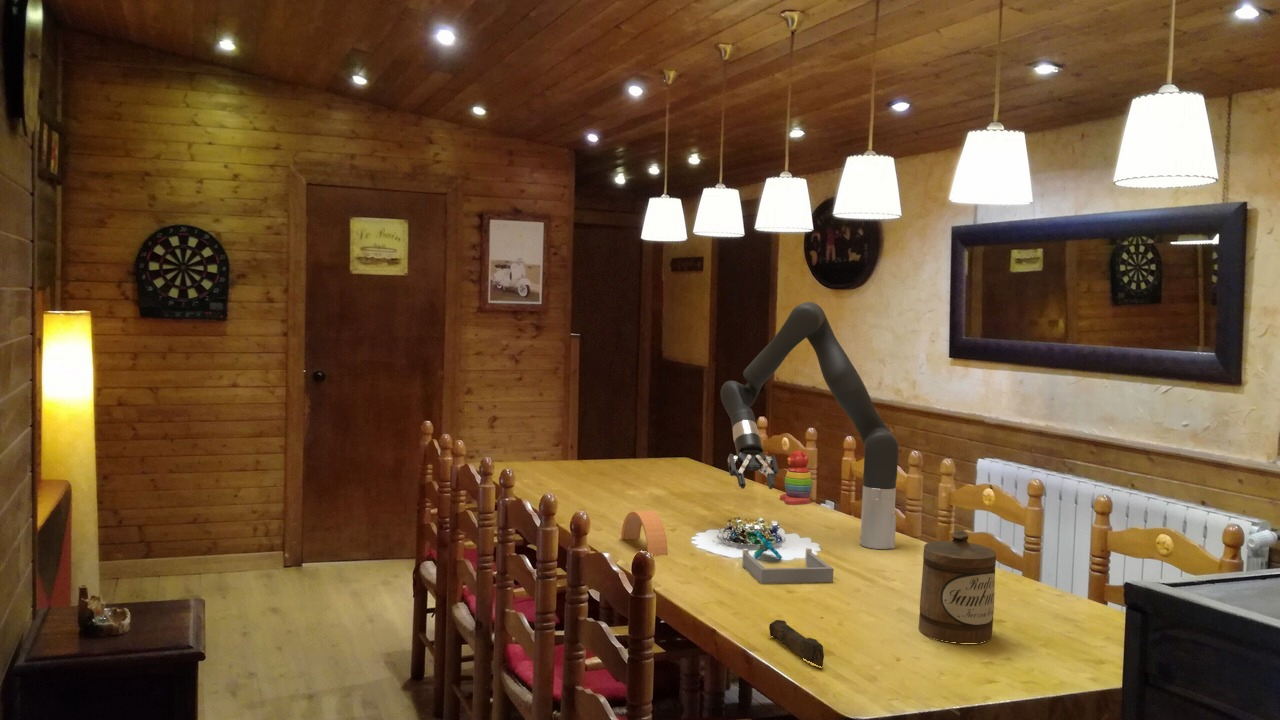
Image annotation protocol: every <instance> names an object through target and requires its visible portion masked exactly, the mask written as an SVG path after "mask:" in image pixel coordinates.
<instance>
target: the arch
mask: <svg viewBox="0 0 1280 720" xmlns="http://www.w3.org/2000/svg"><path fill="white" fill-rule="evenodd" d="M642 528H643V531H644V535H645V538H646V541H645V542H646V551H648V552H650V553H652V554H653V557H661V556H660V555H666V556H668V554H669V553H668V539H667V534H666V531H665V527H664V523H663V521H662V519H661V517H660V516H659V514H658V513H657V512H656V511H654V510H640V511H639V510H638V511H635V510H634V511H630V512H629V513H627V514H626V516H625V518H624V520H623V523H622V527H621V534H620V535H621V536H620V540H621V539H633V540H640V539H641V533H642V532H641V531H642ZM638 538H639V539H638ZM655 555H656V556H655ZM658 555H659V556H658Z"/></svg>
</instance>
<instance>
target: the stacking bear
mask: <svg viewBox="0 0 1280 720" xmlns="http://www.w3.org/2000/svg"><path fill="white" fill-rule="evenodd" d="M786 460H787V461H786V462H787V464H788V466H789V467H788V468H787V470H786V471H787V472H786V473H785V477H784V488H785V493H783V494H780V496H779V500H780V501H784V504H786V505H791V506H792V505H793V506H794V505H795V506H796V505H800V506H801V505H808V504H810V503H811V502H812V500H811V497H810V495H811V492H812V489H813V488H812V487H813V485H812V484H813V480H812V473H811V471H810V469H809V468H808V467H807V466H808V465H809V455H808V453H806V452H805V451H802V450H798V449H796V450H794V451H793V452H791V454H790V455H789V456H788V457H787V459H786Z"/></svg>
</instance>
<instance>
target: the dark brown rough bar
mask: <svg viewBox="0 0 1280 720" xmlns="http://www.w3.org/2000/svg"><path fill="white" fill-rule="evenodd" d="M768 628H769V629H768V630H769V636H770V637H771V636H773V637H774V640H775V639H777V640H779V642H781V643H782V644H784V645H786V647H788V648H789V647H790V649H791V650H792V651H793V652H795V653H796V654H798V655H799V656H800V657H801V659H802V658H804V659H806V660H807V661H810V662H812V663H814V664H816V665H818V666H821V667H822V666H823V665H824V659H825V653H824V646H823V645H822V643H820V642H819V641H818V639H815V638H812V637H805V636H804V635H803V634H801V633H799V632H798V631H797V630H795V629H794V628H792V627H791V626H790V625H789V624H787V622H786V621H785V620H782V619H775V620H774V621H772V622H771V623H770V624H769V625H768ZM823 667H824V666H823ZM823 667H822V668H823Z"/></svg>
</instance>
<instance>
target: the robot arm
mask: <svg viewBox="0 0 1280 720" xmlns="http://www.w3.org/2000/svg"><path fill="white" fill-rule="evenodd" d="M805 339H807V340H808V342H809V344H810V345H811V347H812V349H813V350H814V353H815V355H816V357H817V358H816V359H817V361H818V365H819V368H820V371H821V374H822V377H823V379H824V382H825V383H826V385H827V387H828V388H829V391H830V392H831V394H832V396H833V398H834V399H835V401H836V402H837V403H838V405H839V406H840V407H841V409H842V410H843V411H844V413H846V414H847V416H848V418H849V419H850V420H851V421H852V422H853V424H854V426H855V428H856V431H857V432H858V435H859V436H860V439H861V441H862V443H863V446H864V454H863V457H864V458H863V461H864V462H863V475H862V493H861V494H862V496H861V497H862V499H861V515H860V516H861V518H860V519H861V520H860V538H859V540H860V541H859V543H860V546H862V547H865V548H869V549H876V550H889V549H894V550H895V547H896V546H895V544H896V524H897V515H896V514H895V513H896V511H895V510H896V495H897V494H896V493H897V479H898V466H899V465H898V464H899V444H898V440H897V439H896V437H895V435H894V434H893V432H891V430H890V429H889V427H888V426H887V425H886V423H885V422H884V421H883V420H882V418H881V416H880V415H879V414H878V412H877V410H876V408H875V406H874V403H873V401H872V399H871V396H870V394H869V392H868V390H867V387H866V385H865V384H864V381H863V380H862V378H861V376H860V375H859V373H858V371H857V369H856V368H855V366H854V365H853V363H852V361H851V359H850V358H849V356H848V355H847V353H846V351H845V350H844V349H843V347H842V345H841V344H840V342H839V341H838V340H837V337H836V335H835V333H834V332H833V329H832V326H831V324H830V322H829V320H828V318H827V315H826V314H825V311H824V310H823V308H822V307H821V306H820V305H819V304H817V303H816V302H811V301H806V302H802V303H801V304H798V305H796V306H795V307H794V308H793V309H792V310H791V311H790V314H789V315H788V317H787V318H786V320H785V322H784V323H783V325H782V326H781V328H780V329H779V331H778V332H777V333H776V335H775V336H774V337H773V338H772V340H771V341H770V342H768V344H767V345H766V346H765V347H764V348H763V349H762V350H761V351H760V352H759V353H758V354H757V356H756V357H754V359H753V360H752V361H751V362H750V364H748V365H747V366H746V367H745V369H744V370H743V374H742V375H743V378H744V380H746V382H747V383H746V384H742V383H740V382H739V381H735V380H727V381H725V382H724V383H723V385H722V386H721V388H720V400H721V403H722V405H723V407H724V409H725V412H726V413H727V414H728V417H729V418H730V424H731V428H732V437H733V438H732V439H733V442H734V446H735V451H736V455H734V454H733V453H729V455H728V458H727V466H728V473H729V475H730V476H731V477H733V476H734V477H736V478H737V483H738V486H739V487H740V488H741V489H745V488H746V485H747V483H746V480H745V479H746V478H745V473H744V471H745V470H747V471H748V472H750V471H755V472H757V471H758V472H759V473H761V474H763V475H764V476H765V477H766V481H767V486H768V490H773V488H774V486H775V485H776V482H775V478H776V477H777V476H778V474H779V471H780V470H779V465H778V462H777V459H776V458H777V457H776V455H775V454H771V455H770V456H766V455H765V454H764V448H763V444H762V440H761V435H760V432H759V428H758V426H757V423H756V417H755V414H754V412H753V409H752V408H751V407H752V406H753V405H754V403H755V401H756V399H757V397H758V395H759V394H760V391H762V387H763V386H764V384H765V383H766V382H767V381H768V380H769V379H770V377H772V376H773V375H774V373H775V372H776V371H777V370H778V369H779V367H780V366H781V365H782V363H783V362H784V360H785V359H786V357H788V355H789V354H790V352H791V351H793V349H794V348H795V347H797V345H799V344H800V343H801V342H802V341H804V340H805ZM736 462H737V463H739V465H741V466H740V468H739V469H737V466H736Z"/></svg>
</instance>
